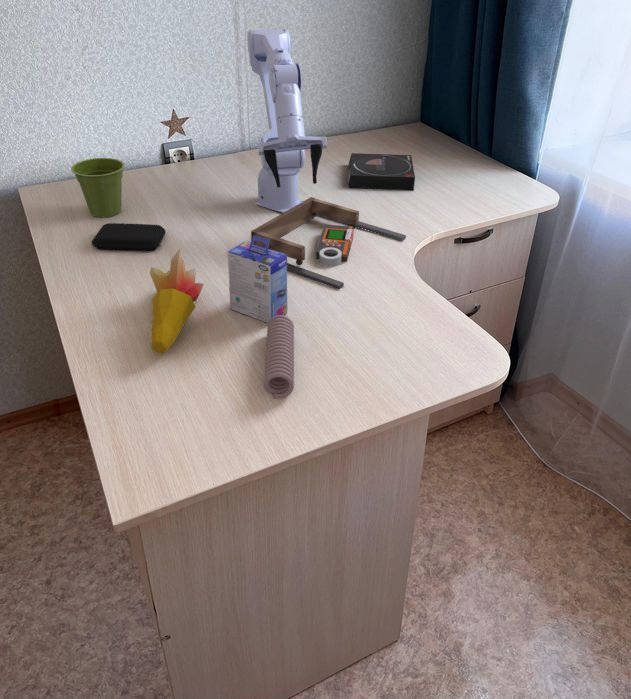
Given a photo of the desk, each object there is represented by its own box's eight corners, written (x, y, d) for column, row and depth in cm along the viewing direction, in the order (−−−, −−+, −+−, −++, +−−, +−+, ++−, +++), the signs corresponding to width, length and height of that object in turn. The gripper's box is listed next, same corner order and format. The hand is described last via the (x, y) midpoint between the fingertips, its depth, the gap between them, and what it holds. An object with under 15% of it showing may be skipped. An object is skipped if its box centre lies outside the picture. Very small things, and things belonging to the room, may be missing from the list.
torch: (159, 378, 114) (176, 287, 132) (198, 362, 112) (210, 271, 130) (128, 347, 109) (150, 257, 127) (168, 329, 106) (185, 240, 125)
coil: (266, 313, 116) (261, 378, 102) (292, 311, 116) (292, 375, 101) (269, 335, 119) (266, 401, 104) (295, 333, 119) (295, 398, 104)
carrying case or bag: (169, 232, 151) (105, 230, 152) (167, 220, 150) (103, 218, 150) (158, 254, 143) (90, 252, 143) (156, 241, 141) (87, 239, 141)
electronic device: (314, 256, 138) (324, 222, 150) (314, 268, 140) (324, 233, 151) (346, 259, 137) (354, 224, 149) (346, 271, 139) (354, 236, 151)
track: (237, 253, 143) (237, 249, 143) (311, 209, 161) (311, 206, 161) (339, 289, 131) (339, 286, 131) (405, 238, 150) (406, 235, 149)
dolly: (251, 250, 144) (250, 231, 141) (311, 214, 159) (311, 196, 156) (301, 267, 138) (301, 248, 135) (358, 228, 153) (359, 210, 150)
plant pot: (138, 215, 158) (131, 169, 151) (88, 226, 153) (79, 179, 146) (122, 198, 166) (115, 153, 159) (74, 208, 161) (64, 162, 154)
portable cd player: (348, 167, 186) (349, 153, 184) (409, 169, 186) (411, 155, 183) (347, 190, 173) (348, 175, 171) (413, 192, 172) (415, 177, 170)
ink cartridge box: (289, 311, 124) (288, 242, 116) (272, 325, 121) (270, 254, 112) (247, 296, 129) (243, 228, 120) (229, 309, 125) (224, 239, 116)
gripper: (254, 117, 137) (261, 182, 136) (324, 109, 137) (331, 174, 136) (256, 130, 144) (263, 191, 143) (323, 123, 144) (330, 184, 143)
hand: (296, 184), depth 140 cm, fingers open, 7 cm apart
